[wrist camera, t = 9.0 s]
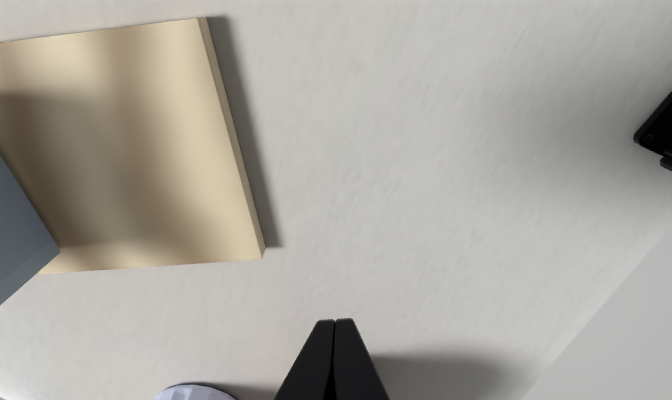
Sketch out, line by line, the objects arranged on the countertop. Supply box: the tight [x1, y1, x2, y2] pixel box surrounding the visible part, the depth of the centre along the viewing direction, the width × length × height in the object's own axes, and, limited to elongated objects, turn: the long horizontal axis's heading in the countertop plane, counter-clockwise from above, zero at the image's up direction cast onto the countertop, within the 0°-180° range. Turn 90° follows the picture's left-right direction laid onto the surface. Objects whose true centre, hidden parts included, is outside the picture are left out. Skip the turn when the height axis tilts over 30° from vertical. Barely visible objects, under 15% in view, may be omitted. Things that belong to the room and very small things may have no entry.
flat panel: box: [0, 17, 266, 274], centre depth 19 cm, size 22×14×5 cm, turn 96°
